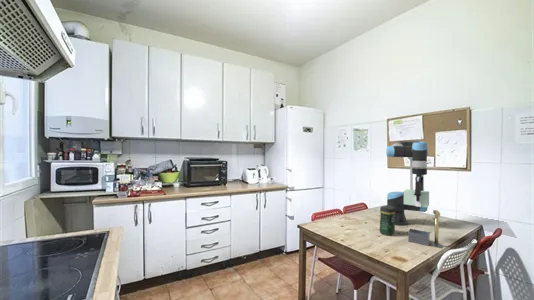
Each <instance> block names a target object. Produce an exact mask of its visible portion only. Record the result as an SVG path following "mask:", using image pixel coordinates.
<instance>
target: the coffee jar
mask: <svg viewBox="0 0 534 300" xmlns="http://www.w3.org/2000/svg"><path fill="white" fill-rule="evenodd" d="M379 213H380V214H379V215H380V220H379V221H380V223H379V233H380V234H382V235H385V236H393V235H394V234H396V229H395V228H396V227H395V226H396V225H395V207H394V206H391V205H387V204H386V205H383V206H380V209H379Z"/></svg>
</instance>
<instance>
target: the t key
mask: <svg viewBox="0 0 534 300" xmlns="http://www.w3.org/2000/svg"><path fill="white" fill-rule="evenodd" d="M432 210H433V212H432V213H433V214H434V217H432V220H433V221H434V243H435V244H436V245H438V244H439V227H440V226H439V218H440V217H441V212H440V211H438V209H432Z"/></svg>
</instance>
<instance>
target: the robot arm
mask: <svg viewBox="0 0 534 300" xmlns="http://www.w3.org/2000/svg"><path fill="white" fill-rule="evenodd" d="M428 150H429V149H428V143H427V142H425V141H419V140H418V141H417V140H415V141H414V140H413V141H399V142H395V143H393V144H392V145H387V146H386V151H385V153H386V157H387V158H407V159H408V160H409V161H410V162H409V164H410V165H409V169H410V171H409V175H410V176H409V180H410V181H409V183H410V184H409V187H410V189H409V190H415V194H414V195H415V206H413V205H406V204H404V191H390V192H388V193H387V195H386V205H391V206H394V207H395V226H406V225H407V224H408V220H407V218H406V214H405V211H411V212H421V213H425V212H427V211H428V208H429V206H428V207H421V196H420V195H421V191H425V186H424V185H425V178H424V177H425V176H426V175H427V174H428V165H429V162H428V156H429V151H428Z"/></svg>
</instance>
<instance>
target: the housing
mask: <svg viewBox="0 0 534 300" xmlns="http://www.w3.org/2000/svg"><path fill="white" fill-rule="evenodd" d="M407 235H408V236H407V237H408V238H407V239H408V242H409V243H414V244H418V245H422V246H427V247H429V245H430V243H431V245H430V247H434V248H438V249H442V244H440V243H438V245H436V244H435V242H431V241H430V240H431V238H430V237H431V236H430V235H431V233H430V232H429V231H425V230H424V231H423V230H418V229H414V228H410V229H409V230H408V234H407Z"/></svg>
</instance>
